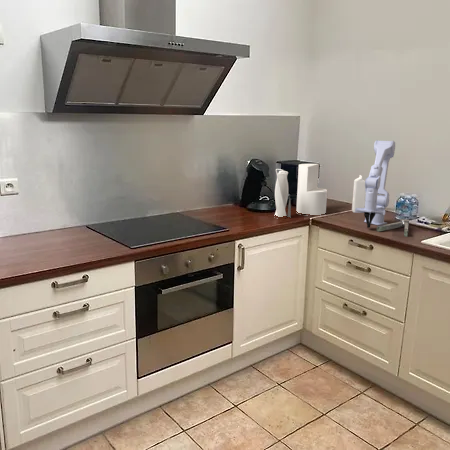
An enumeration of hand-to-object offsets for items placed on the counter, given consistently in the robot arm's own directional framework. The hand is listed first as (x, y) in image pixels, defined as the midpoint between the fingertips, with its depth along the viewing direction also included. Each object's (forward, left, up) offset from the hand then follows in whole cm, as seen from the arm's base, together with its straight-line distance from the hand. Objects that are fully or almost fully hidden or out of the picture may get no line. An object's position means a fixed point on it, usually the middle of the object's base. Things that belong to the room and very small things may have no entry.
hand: (368, 227), depth 234 cm
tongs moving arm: (+6, +12, -1) cm, 13 cm away
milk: (-32, +29, -2) cm, 43 cm away
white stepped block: (-45, +3, -2) cm, 45 cm away
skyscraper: (-44, -21, -2) cm, 49 cm away
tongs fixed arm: (+10, +15, -1) cm, 18 cm away
